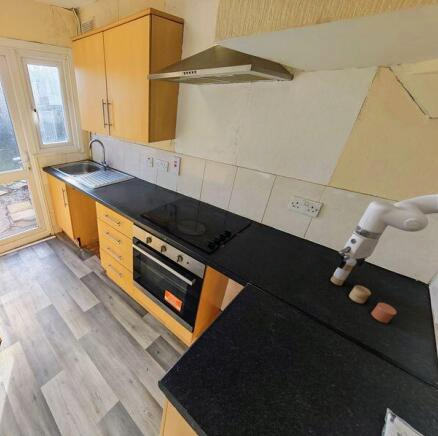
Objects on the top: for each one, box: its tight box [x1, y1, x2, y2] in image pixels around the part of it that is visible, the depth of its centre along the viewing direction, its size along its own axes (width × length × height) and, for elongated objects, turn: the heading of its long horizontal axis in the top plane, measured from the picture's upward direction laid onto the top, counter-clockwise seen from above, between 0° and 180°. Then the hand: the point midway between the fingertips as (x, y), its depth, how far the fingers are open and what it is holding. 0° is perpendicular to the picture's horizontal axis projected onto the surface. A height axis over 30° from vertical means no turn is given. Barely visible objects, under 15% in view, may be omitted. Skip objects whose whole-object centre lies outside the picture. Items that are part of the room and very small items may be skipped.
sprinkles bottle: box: [330, 255, 357, 286], centre depth 99 cm, size 5×5×14 cm
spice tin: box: [348, 284, 372, 304], centre depth 93 cm, size 5×5×5 cm
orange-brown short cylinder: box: [370, 302, 397, 324], centre depth 85 cm, size 5×5×5 cm
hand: (347, 265), depth 97 cm, fingers open, 9 cm apart
